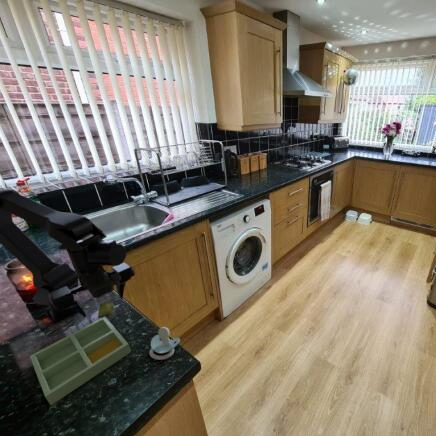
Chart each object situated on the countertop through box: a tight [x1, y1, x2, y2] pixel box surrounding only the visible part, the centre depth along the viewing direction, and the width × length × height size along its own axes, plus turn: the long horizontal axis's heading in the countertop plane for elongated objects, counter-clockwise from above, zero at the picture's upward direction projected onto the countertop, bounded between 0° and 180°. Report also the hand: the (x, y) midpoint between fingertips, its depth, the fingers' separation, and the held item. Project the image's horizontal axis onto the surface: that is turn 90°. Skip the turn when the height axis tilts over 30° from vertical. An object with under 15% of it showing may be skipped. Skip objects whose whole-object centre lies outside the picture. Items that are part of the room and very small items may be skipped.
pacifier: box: [148, 326, 181, 361], centre depth 61 cm, size 7×6×6 cm
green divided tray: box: [29, 317, 132, 406], centre depth 60 cm, size 15×15×3 cm
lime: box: [97, 299, 115, 319], centre depth 73 cm, size 4×5×5 cm
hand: (104, 306), depth 72 cm, fingers open, 9 cm apart
